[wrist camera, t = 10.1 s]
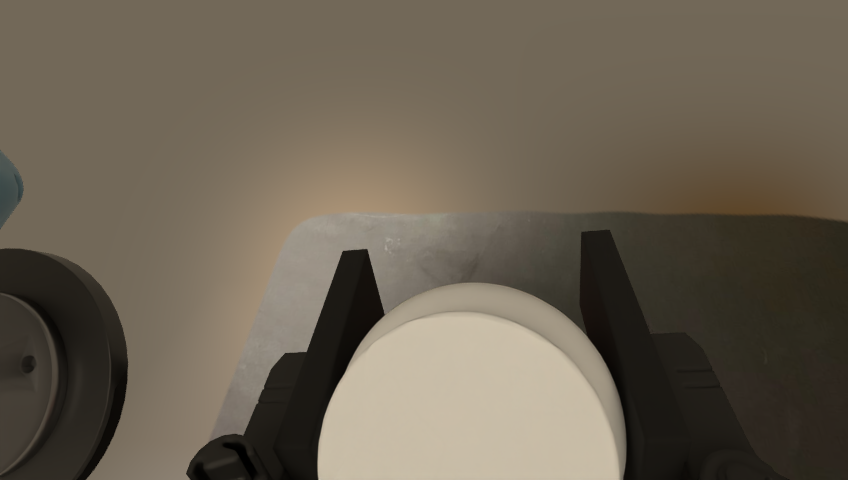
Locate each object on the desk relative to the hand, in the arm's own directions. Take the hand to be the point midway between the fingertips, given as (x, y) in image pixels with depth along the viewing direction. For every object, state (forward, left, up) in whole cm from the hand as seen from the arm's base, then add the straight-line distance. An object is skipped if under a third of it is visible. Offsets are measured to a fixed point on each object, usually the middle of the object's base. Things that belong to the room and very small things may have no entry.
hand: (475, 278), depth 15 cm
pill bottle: (+2, -3, -4) cm, 5 cm away
